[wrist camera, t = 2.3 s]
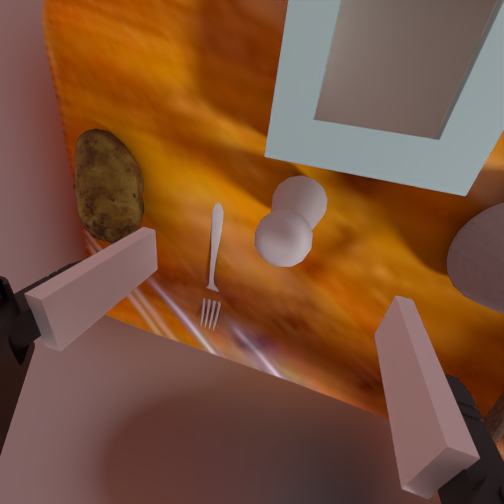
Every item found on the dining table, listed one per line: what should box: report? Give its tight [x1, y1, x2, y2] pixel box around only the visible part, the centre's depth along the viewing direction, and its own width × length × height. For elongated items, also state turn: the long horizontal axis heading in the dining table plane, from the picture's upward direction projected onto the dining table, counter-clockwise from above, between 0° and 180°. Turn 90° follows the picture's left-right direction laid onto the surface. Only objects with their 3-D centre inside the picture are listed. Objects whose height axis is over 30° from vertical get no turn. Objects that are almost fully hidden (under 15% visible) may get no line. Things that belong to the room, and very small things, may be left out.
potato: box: [74, 129, 144, 243], centre depth 31 cm, size 8×13×8 cm, turn 174°
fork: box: [200, 203, 223, 331], centre depth 36 cm, size 3×24×2 cm, turn 173°
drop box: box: [264, 0, 504, 196], centre depth 19 cm, size 14×14×9 cm
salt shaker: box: [255, 175, 327, 267], centre depth 24 cm, size 6×6×13 cm
